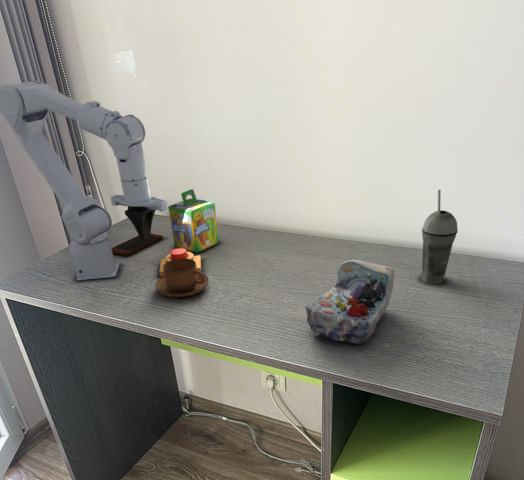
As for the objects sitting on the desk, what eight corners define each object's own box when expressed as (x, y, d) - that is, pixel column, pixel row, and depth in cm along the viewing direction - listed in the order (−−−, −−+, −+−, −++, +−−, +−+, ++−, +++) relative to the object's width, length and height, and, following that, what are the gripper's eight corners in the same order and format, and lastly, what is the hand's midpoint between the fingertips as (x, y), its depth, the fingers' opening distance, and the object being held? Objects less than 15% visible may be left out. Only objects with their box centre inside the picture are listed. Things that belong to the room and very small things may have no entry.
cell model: (402, 258, 95) (371, 305, 81) (397, 306, 101) (367, 359, 87) (338, 248, 101) (298, 292, 86) (336, 295, 107) (299, 343, 92)
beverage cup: (451, 287, 107) (466, 195, 96) (416, 286, 109) (428, 195, 98) (447, 273, 113) (462, 184, 102) (414, 272, 115) (425, 185, 104)
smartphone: (163, 235, 142) (126, 253, 132) (163, 238, 143) (127, 256, 132) (145, 231, 146) (107, 249, 135) (145, 234, 146) (108, 252, 136)
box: (160, 276, 121) (157, 264, 119) (162, 264, 127) (160, 252, 126) (201, 272, 121) (199, 260, 120) (200, 260, 128) (199, 248, 126)
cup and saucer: (213, 278, 118) (210, 254, 115) (203, 301, 108) (200, 276, 105) (165, 278, 119) (160, 254, 116) (150, 301, 110) (145, 276, 106)
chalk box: (197, 254, 132) (190, 198, 124) (173, 247, 137) (164, 193, 128) (220, 243, 138) (214, 189, 130) (196, 237, 143) (189, 185, 134)
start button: (171, 261, 121) (169, 255, 120) (171, 255, 124) (170, 249, 123) (187, 260, 121) (186, 253, 120) (187, 254, 125) (186, 247, 124)
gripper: (172, 176, 106) (181, 236, 114) (121, 171, 113) (133, 229, 120) (151, 184, 101) (162, 247, 109) (99, 179, 107) (112, 239, 115)
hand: (145, 238), depth 114 cm, fingers closed
